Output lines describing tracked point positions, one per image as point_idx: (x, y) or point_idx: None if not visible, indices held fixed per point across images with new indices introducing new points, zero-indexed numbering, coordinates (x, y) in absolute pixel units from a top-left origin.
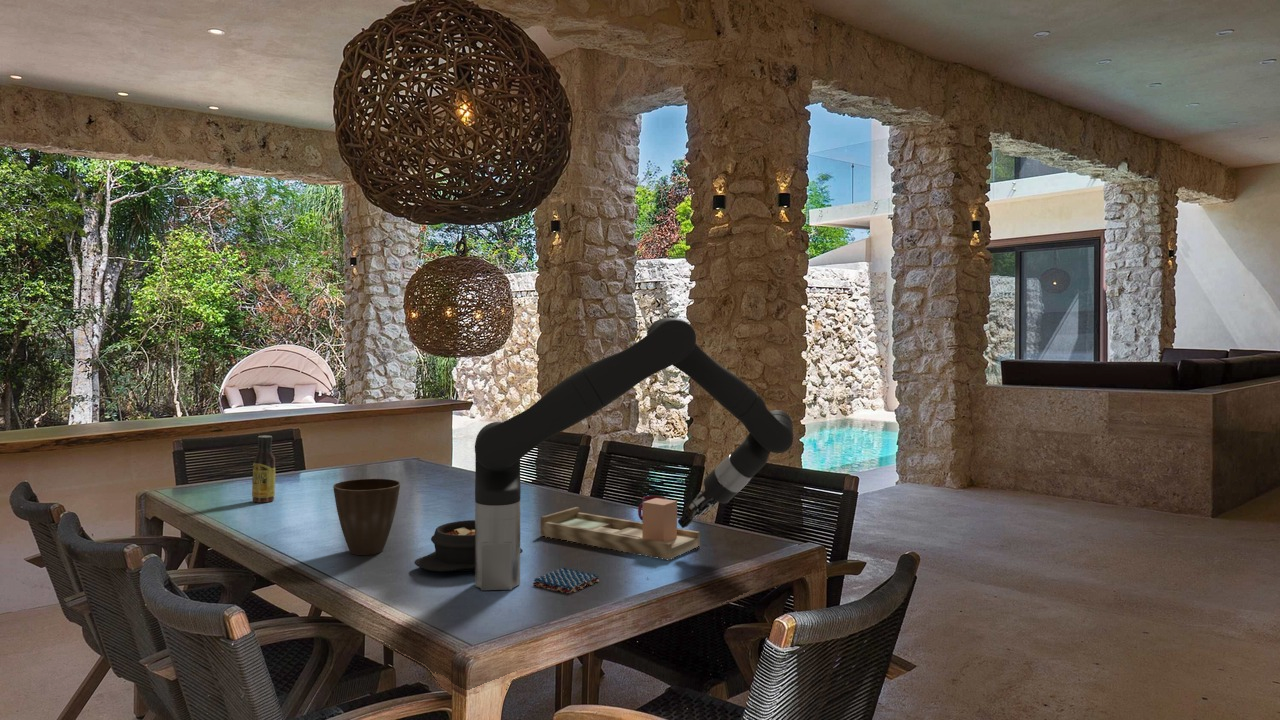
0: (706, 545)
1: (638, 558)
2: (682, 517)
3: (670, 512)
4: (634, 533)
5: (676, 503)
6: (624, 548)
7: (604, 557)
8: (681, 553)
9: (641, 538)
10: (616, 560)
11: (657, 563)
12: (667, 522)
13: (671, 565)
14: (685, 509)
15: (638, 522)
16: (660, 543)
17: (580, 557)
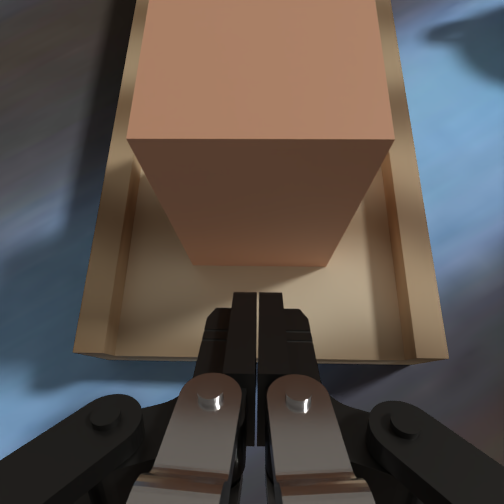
0: (461, 379)
1: (83, 232)
2: (228, 328)
3: (259, 189)
4: None
5: (374, 154)
6: None
7: (42, 128)
8: None
9: (124, 172)
10: (21, 180)
11: (44, 339)
12: (217, 222)
13: (38, 415)
14: (24, 456)
15: (383, 24)
16: (83, 296)
17: (9, 72)
